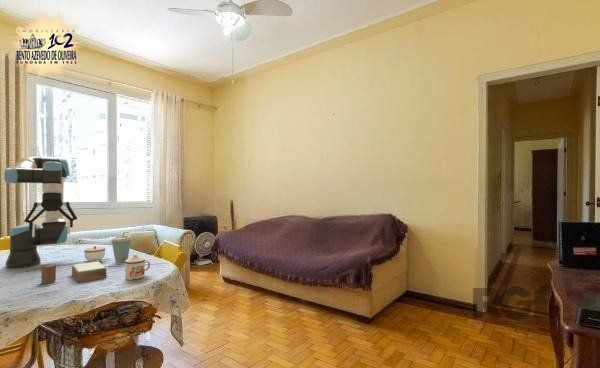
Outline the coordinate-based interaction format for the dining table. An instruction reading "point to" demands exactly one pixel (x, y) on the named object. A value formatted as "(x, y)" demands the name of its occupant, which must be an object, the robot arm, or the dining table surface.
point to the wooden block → (48, 273)
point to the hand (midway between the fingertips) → (51, 235)
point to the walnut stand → (88, 271)
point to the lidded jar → (94, 254)
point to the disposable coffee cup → (121, 248)
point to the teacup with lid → (135, 267)
